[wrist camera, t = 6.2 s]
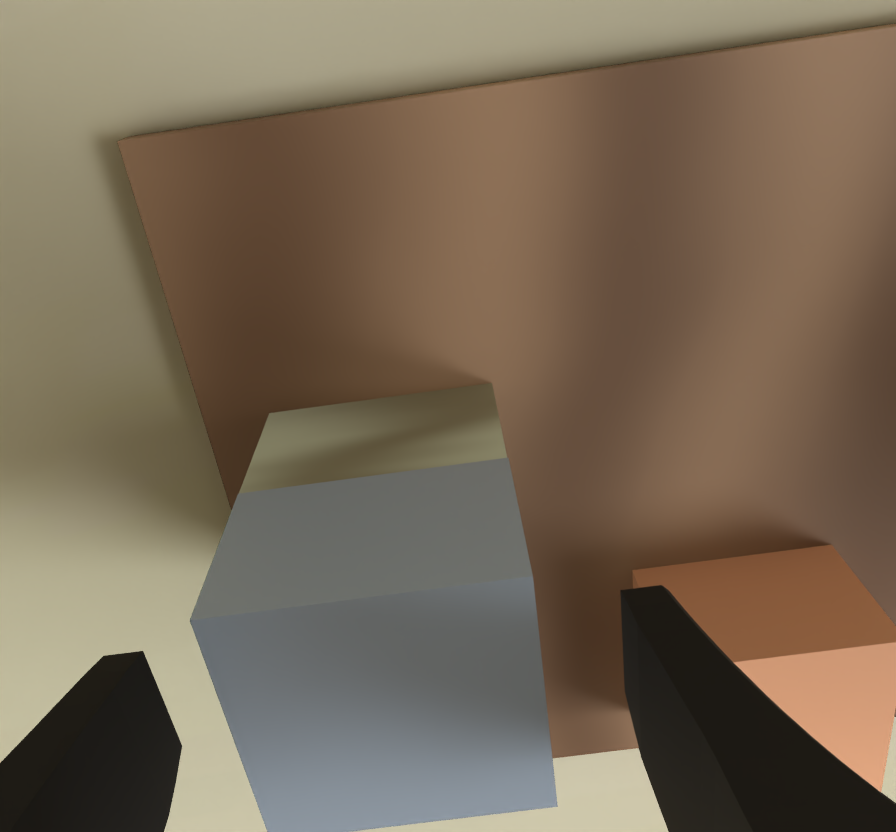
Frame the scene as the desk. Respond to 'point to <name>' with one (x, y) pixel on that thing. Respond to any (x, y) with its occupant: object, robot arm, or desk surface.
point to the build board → (564, 314)
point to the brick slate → (380, 650)
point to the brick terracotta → (801, 642)
